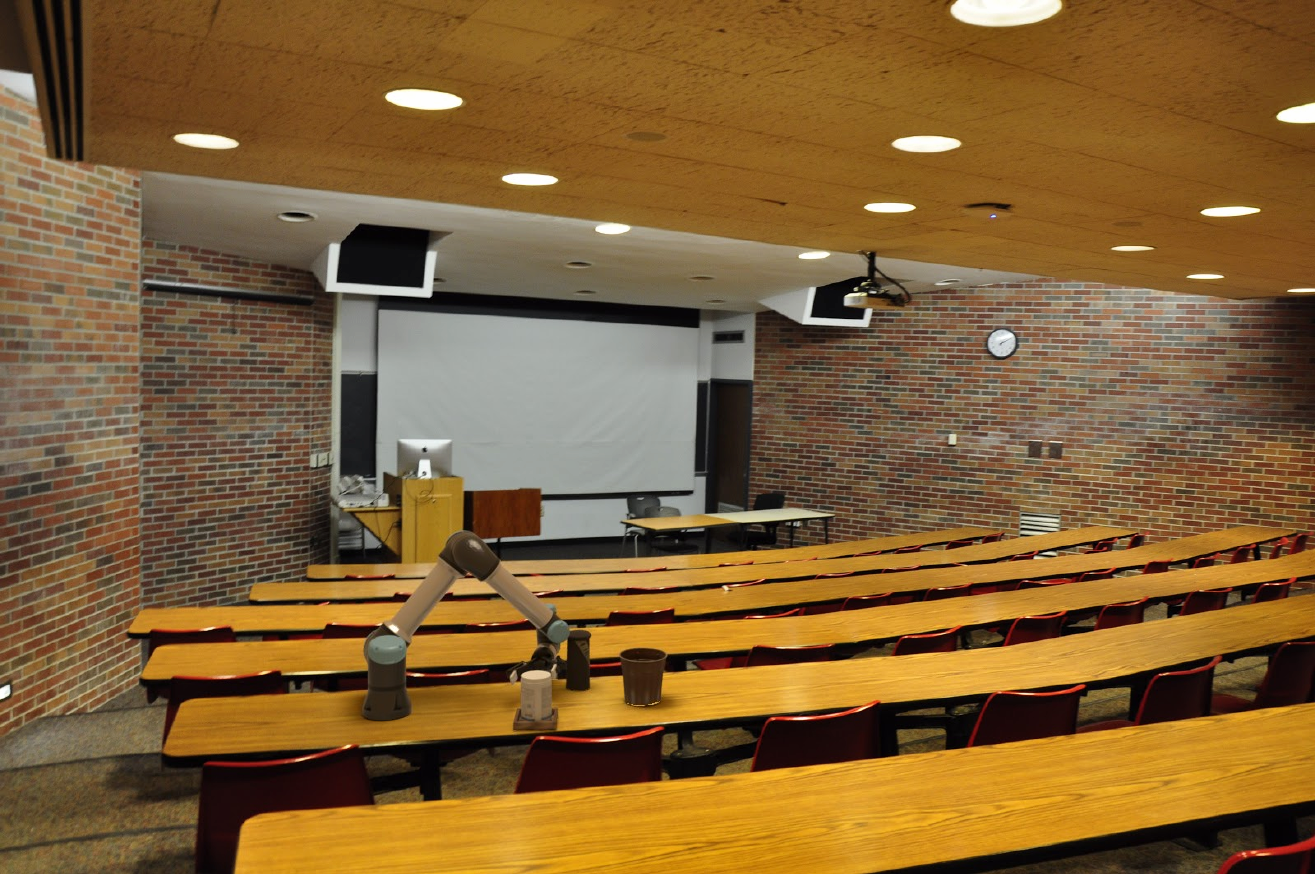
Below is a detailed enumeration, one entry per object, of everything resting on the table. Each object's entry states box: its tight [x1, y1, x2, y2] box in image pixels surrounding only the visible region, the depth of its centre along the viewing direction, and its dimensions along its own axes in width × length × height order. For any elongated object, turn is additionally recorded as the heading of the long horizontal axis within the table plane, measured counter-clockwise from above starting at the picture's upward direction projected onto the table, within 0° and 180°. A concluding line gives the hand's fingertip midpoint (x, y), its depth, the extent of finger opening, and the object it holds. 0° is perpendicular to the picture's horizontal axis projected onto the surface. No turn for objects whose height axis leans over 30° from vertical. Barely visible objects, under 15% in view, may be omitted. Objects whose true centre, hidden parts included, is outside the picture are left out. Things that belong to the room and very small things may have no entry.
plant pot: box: [618, 647, 668, 706], centre depth 310 cm, size 16×16×16 cm
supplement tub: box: [520, 670, 553, 721], centre depth 288 cm, size 10×10×15 cm
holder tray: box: [512, 707, 559, 731], centre depth 288 cm, size 13×13×2 cm
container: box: [565, 629, 592, 691], centre depth 323 cm, size 9×9×20 cm
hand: (532, 678), depth 298 cm, fingers open, 13 cm apart
